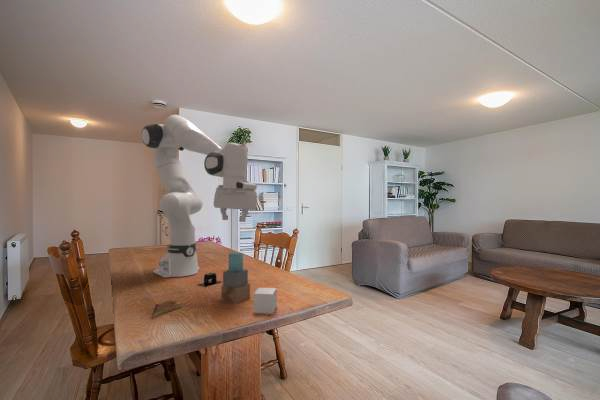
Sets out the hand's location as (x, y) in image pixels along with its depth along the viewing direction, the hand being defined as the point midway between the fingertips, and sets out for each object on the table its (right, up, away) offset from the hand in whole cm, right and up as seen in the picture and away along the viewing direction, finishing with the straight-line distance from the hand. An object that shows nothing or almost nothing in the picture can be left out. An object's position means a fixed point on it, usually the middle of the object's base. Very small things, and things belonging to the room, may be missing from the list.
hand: (233, 220), depth 105 cm
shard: (-16, -28, -18) cm, 37 cm away
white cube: (+15, -27, -18) cm, 36 cm away
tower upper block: (+3, -22, -8) cm, 24 cm away
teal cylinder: (+3, -17, -8) cm, 19 cm away
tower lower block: (+3, -27, -8) cm, 28 cm away
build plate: (-12, -28, +10) cm, 32 cm away
